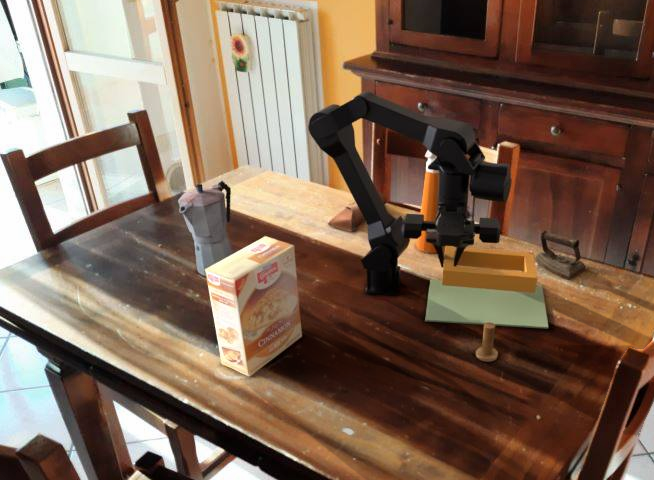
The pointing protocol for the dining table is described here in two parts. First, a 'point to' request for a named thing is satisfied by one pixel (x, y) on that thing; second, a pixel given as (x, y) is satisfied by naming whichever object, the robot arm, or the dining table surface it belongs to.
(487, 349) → the peg stand
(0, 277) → the dining table surface
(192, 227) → the moka pot
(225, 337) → the coffeecake box
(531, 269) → the rectangular frame
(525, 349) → the dining table surface
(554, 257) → the clothes iron
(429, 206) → the spray bottle
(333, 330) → the dining table surface
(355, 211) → the sunglasses case
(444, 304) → the mat
